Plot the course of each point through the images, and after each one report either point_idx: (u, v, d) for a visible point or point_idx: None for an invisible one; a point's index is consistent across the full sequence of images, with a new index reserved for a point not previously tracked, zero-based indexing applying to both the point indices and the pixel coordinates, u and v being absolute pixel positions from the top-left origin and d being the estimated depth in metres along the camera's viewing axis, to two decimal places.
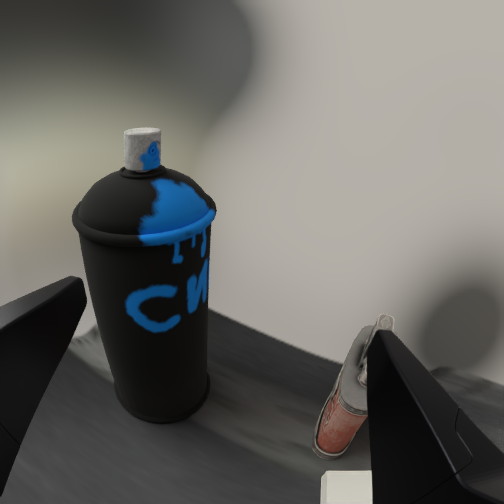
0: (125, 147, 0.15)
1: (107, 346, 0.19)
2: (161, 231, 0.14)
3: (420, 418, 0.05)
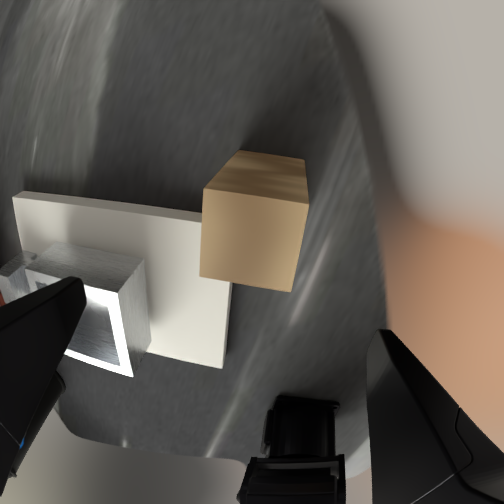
0: None
1: (40, 427, 0.30)
2: None
3: (420, 418, 0.05)
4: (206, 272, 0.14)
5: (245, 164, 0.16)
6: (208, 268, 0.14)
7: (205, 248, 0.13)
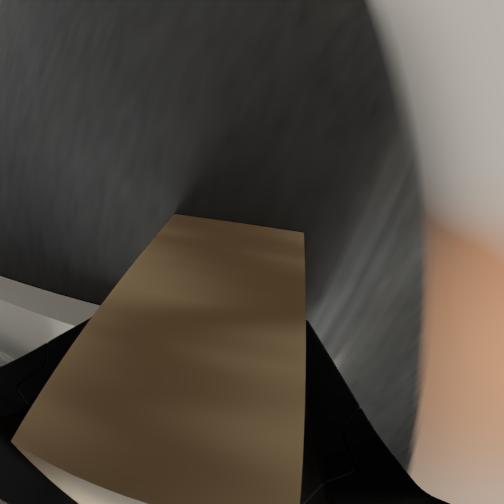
0: None
1: None
2: None
3: (306, 414, 0.05)
4: None
5: (163, 280, 0.07)
6: None
7: (77, 500, 0.04)
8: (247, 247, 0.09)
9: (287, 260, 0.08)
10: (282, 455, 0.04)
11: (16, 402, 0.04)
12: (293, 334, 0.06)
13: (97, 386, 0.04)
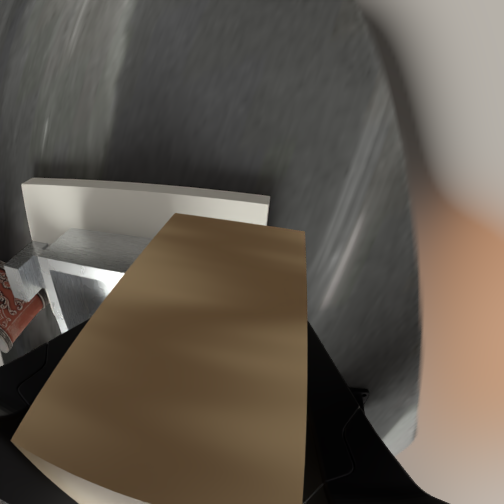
0: None
1: None
2: None
3: None
4: None
5: (164, 279, 0.07)
6: None
7: (78, 500, 0.04)
8: (248, 246, 0.09)
9: (288, 259, 0.08)
10: (284, 454, 0.04)
11: (16, 402, 0.04)
12: (294, 333, 0.06)
13: (98, 385, 0.04)
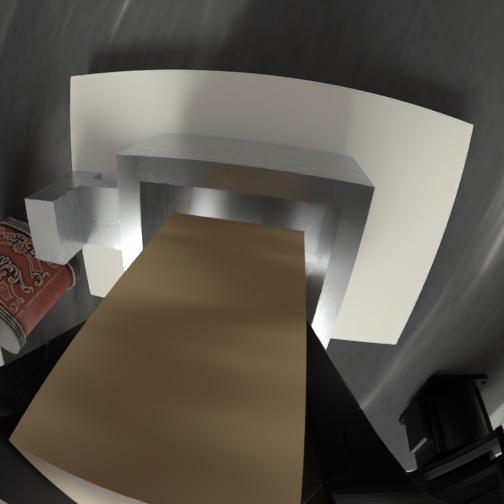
0: None
1: None
2: None
3: (306, 414, 0.05)
4: None
5: (162, 278, 0.07)
6: None
7: (76, 499, 0.04)
8: (247, 245, 0.08)
9: (287, 258, 0.08)
10: (282, 454, 0.04)
11: (16, 403, 0.04)
12: (293, 332, 0.06)
13: (96, 384, 0.04)
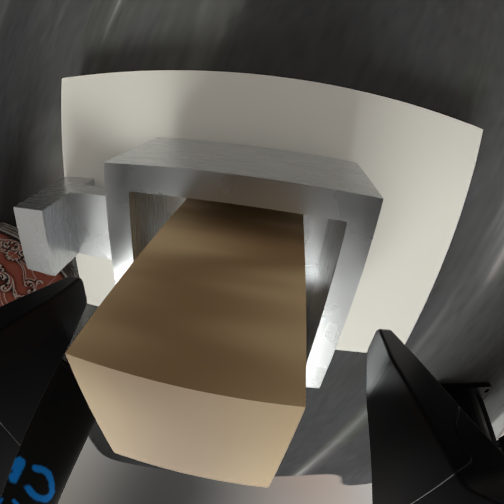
0: None
1: (74, 463, 0.21)
2: None
3: (420, 418, 0.05)
4: (122, 452, 0.06)
5: (188, 238, 0.09)
6: (123, 449, 0.06)
7: (108, 430, 0.06)
8: (256, 216, 0.10)
9: (289, 226, 0.10)
10: (290, 353, 0.05)
11: None
12: (295, 275, 0.08)
13: (141, 308, 0.06)
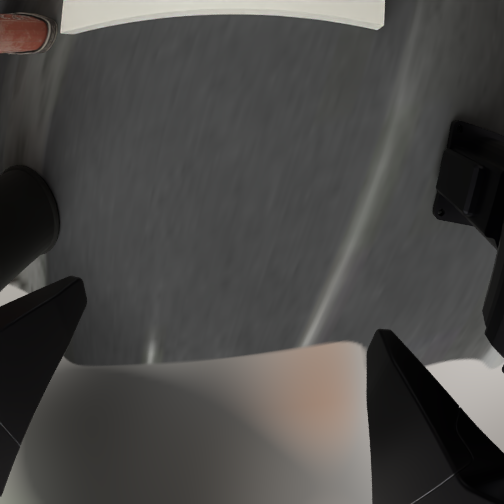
0: None
1: (0, 283, 0.17)
2: None
3: (420, 418, 0.05)
4: None
5: None
6: None
7: None
8: None
9: None
10: None
11: None
12: None
13: None
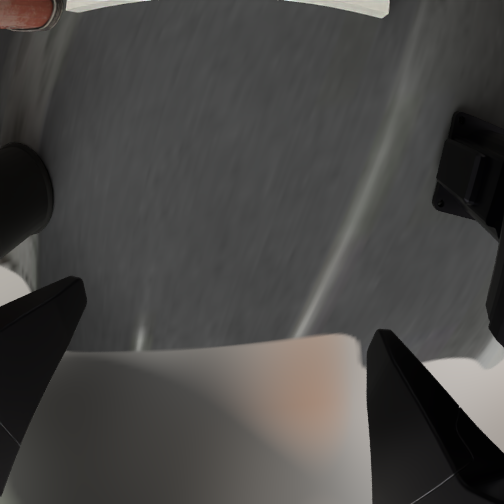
0: None
1: None
2: None
3: (420, 418, 0.05)
4: None
5: None
6: None
7: None
8: None
9: None
10: None
11: None
12: None
13: None
